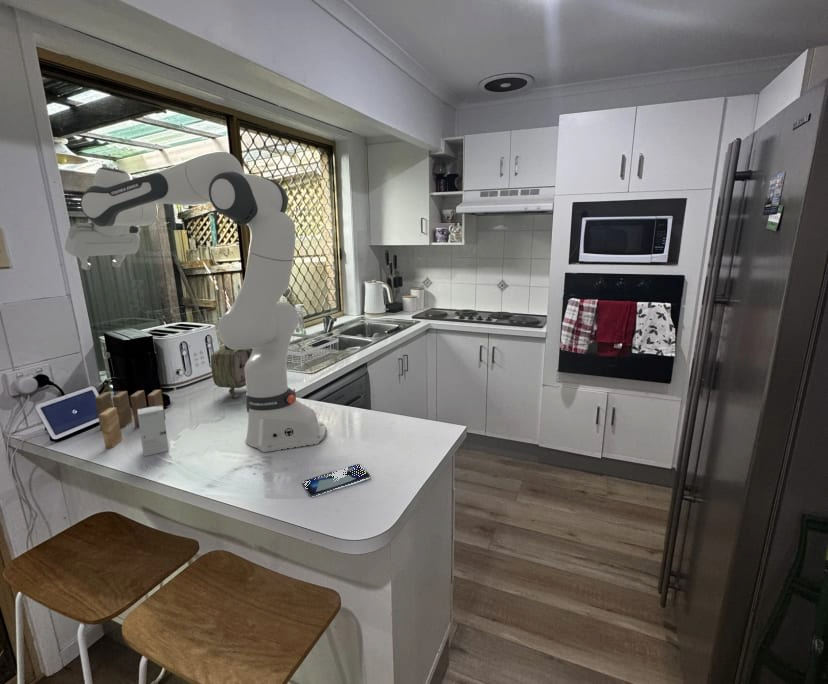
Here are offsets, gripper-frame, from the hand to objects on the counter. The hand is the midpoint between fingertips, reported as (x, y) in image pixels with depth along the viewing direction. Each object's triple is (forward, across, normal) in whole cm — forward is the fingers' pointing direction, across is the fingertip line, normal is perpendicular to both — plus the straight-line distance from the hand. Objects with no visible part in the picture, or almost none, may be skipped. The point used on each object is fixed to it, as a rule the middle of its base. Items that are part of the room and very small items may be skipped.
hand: (101, 267), depth 130 cm
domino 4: (+39, -1, -32) cm, 50 cm away
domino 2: (+42, -5, -24) cm, 49 cm away
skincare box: (+33, -16, -46) cm, 59 cm away
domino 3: (+40, -3, -28) cm, 49 cm away
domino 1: (+44, -7, -19) cm, 49 cm away
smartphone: (+11, -17, -96) cm, 98 cm away
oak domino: (+38, -17, -32) cm, 53 cm away
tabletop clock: (+37, +27, -38) cm, 59 cm away
